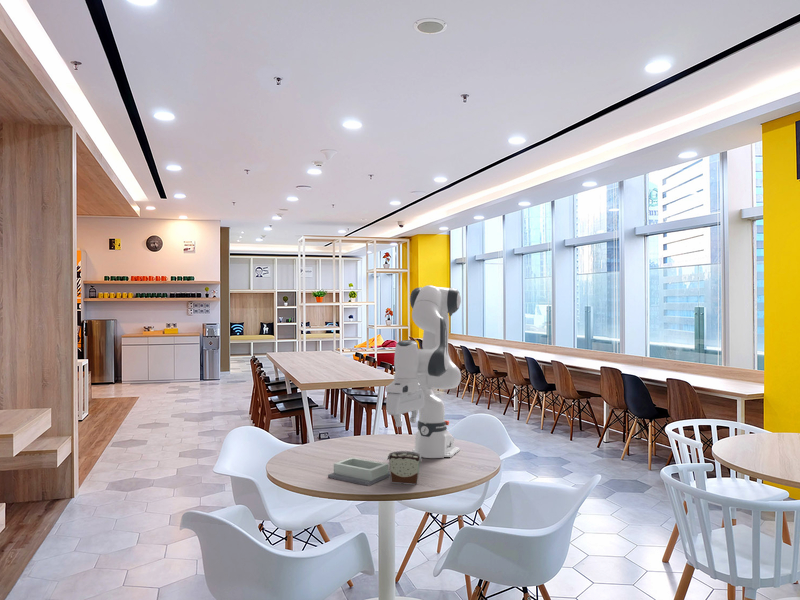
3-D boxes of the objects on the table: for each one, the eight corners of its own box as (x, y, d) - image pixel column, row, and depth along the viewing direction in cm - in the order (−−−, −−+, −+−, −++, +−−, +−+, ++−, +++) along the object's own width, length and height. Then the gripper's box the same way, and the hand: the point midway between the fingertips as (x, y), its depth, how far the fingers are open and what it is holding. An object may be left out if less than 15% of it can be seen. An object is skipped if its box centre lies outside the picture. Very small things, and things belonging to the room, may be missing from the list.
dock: (355, 467, 211) (355, 455, 211) (393, 474, 201) (393, 462, 201) (328, 477, 197) (328, 464, 197) (368, 485, 187) (368, 472, 188)
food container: (424, 479, 195) (424, 451, 195) (421, 485, 189) (421, 456, 189) (391, 477, 198) (391, 449, 198) (387, 482, 192) (387, 453, 192)
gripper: (413, 382, 205) (413, 419, 204) (383, 387, 188) (382, 428, 187) (428, 383, 201) (428, 421, 201) (398, 389, 184) (398, 430, 184)
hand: (406, 424), depth 194 cm, fingers open, 8 cm apart
